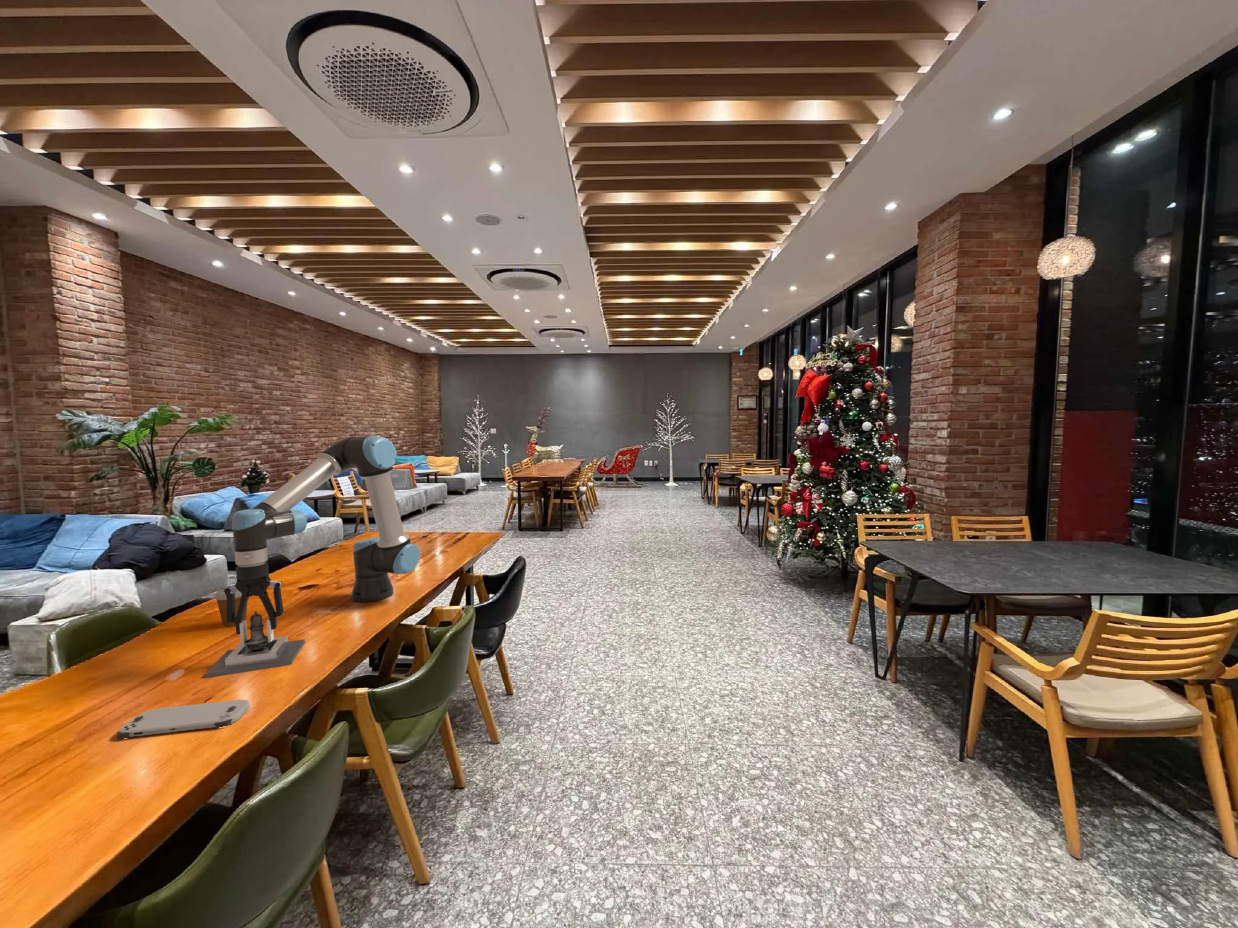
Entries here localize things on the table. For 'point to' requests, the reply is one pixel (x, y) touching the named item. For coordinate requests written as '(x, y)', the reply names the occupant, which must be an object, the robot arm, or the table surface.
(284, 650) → the collar plate
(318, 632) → the table surface
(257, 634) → the dark grey chess piece
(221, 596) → the disposable coffee cup
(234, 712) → the handheld gaming console
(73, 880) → the table surface
